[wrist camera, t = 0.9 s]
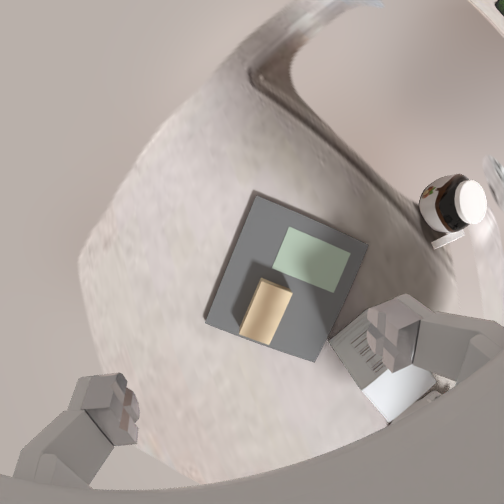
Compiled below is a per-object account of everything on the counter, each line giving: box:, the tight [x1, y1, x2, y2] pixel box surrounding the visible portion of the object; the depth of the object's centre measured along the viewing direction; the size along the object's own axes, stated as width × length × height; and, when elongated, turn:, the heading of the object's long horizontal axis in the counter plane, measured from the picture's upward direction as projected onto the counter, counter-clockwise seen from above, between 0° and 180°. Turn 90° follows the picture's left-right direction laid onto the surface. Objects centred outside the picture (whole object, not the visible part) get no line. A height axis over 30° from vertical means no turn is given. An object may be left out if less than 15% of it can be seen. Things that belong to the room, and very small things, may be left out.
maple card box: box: [239, 278, 293, 345], centre depth 45 cm, size 5×9×3 cm, turn 158°
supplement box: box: [329, 309, 436, 422], centre depth 41 cm, size 10×9×17 cm
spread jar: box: [419, 174, 487, 249], centre depth 41 cm, size 12×11×12 cm
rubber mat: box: [205, 195, 368, 362], centre depth 47 cm, size 20×22×1 cm
